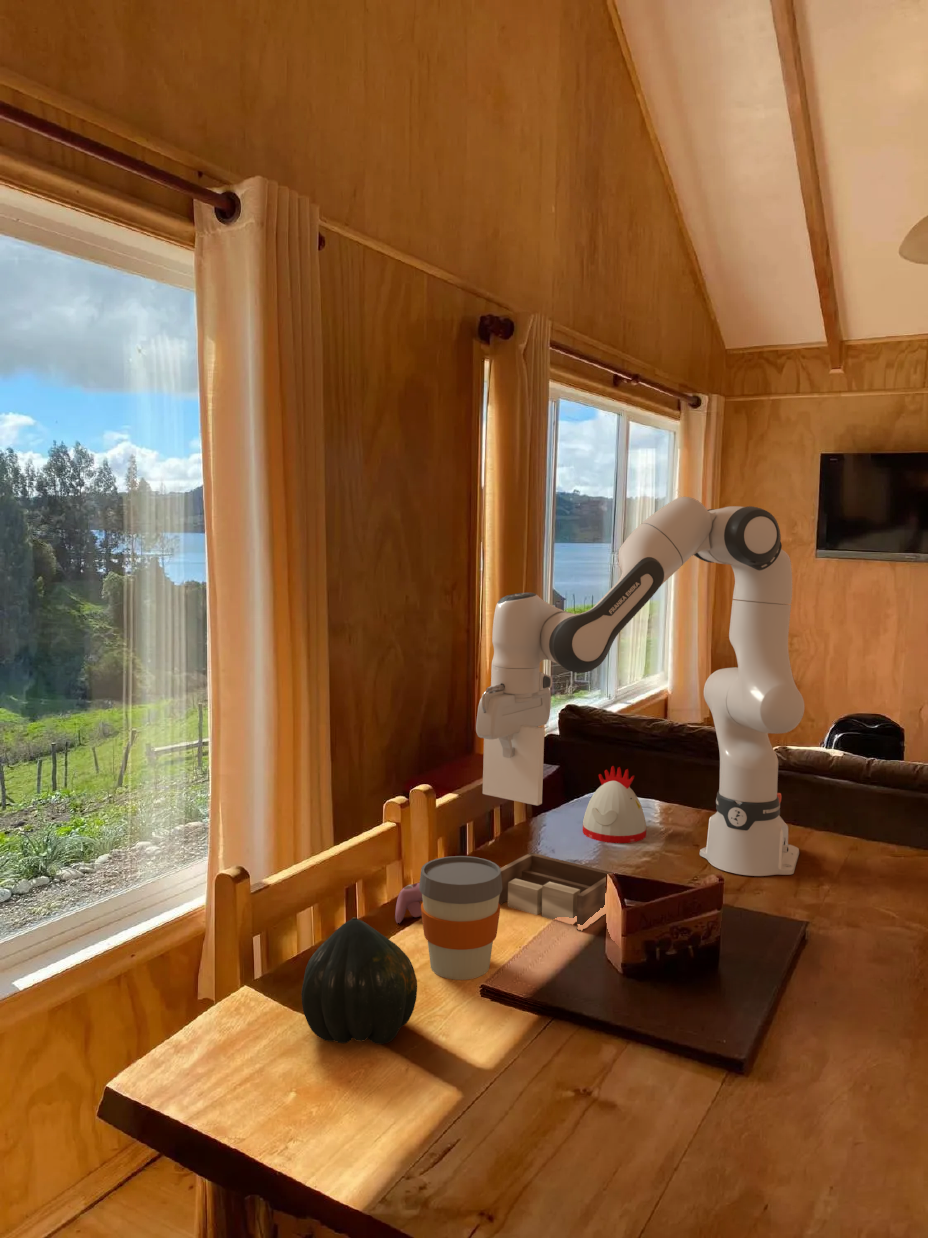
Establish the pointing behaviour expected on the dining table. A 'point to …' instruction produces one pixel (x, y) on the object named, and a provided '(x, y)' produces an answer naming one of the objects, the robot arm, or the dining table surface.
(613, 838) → the kitchen timer
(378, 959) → the squash
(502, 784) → the white panel
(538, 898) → the birch offcut
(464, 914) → the reusable coffee cup
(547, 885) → the birch offcut
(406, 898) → the video game controller
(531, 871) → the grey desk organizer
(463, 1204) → the dining table surface
